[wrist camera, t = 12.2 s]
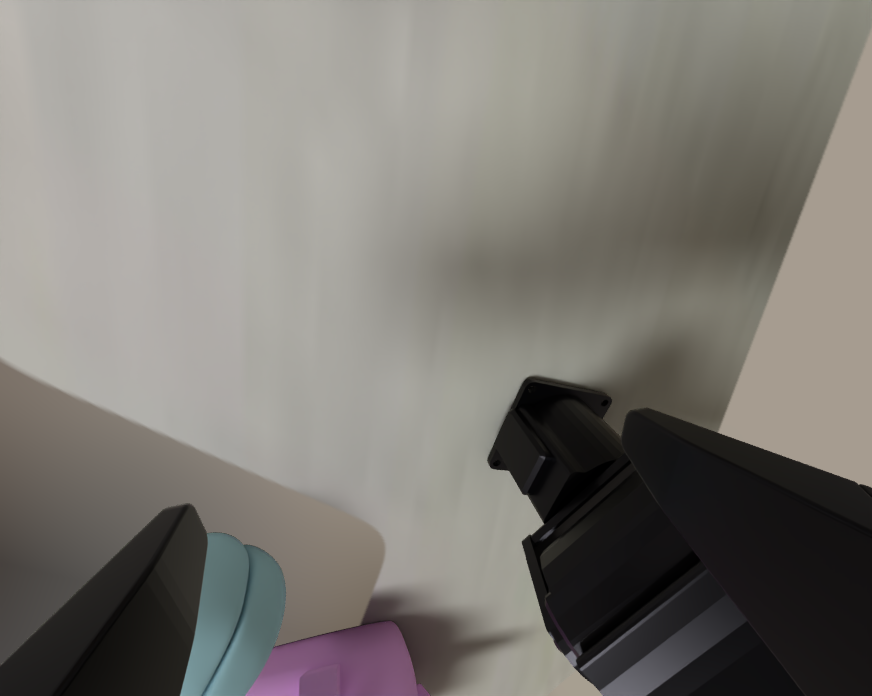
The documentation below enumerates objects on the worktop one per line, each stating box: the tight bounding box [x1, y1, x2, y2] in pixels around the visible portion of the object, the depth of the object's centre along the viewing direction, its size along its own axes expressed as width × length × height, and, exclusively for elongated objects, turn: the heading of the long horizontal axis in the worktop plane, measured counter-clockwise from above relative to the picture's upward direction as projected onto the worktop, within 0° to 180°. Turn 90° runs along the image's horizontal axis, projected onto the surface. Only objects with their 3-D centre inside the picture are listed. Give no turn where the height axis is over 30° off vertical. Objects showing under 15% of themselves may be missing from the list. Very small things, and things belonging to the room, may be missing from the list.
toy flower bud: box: [180, 532, 286, 696], centre depth 20 cm, size 7×9×12 cm
